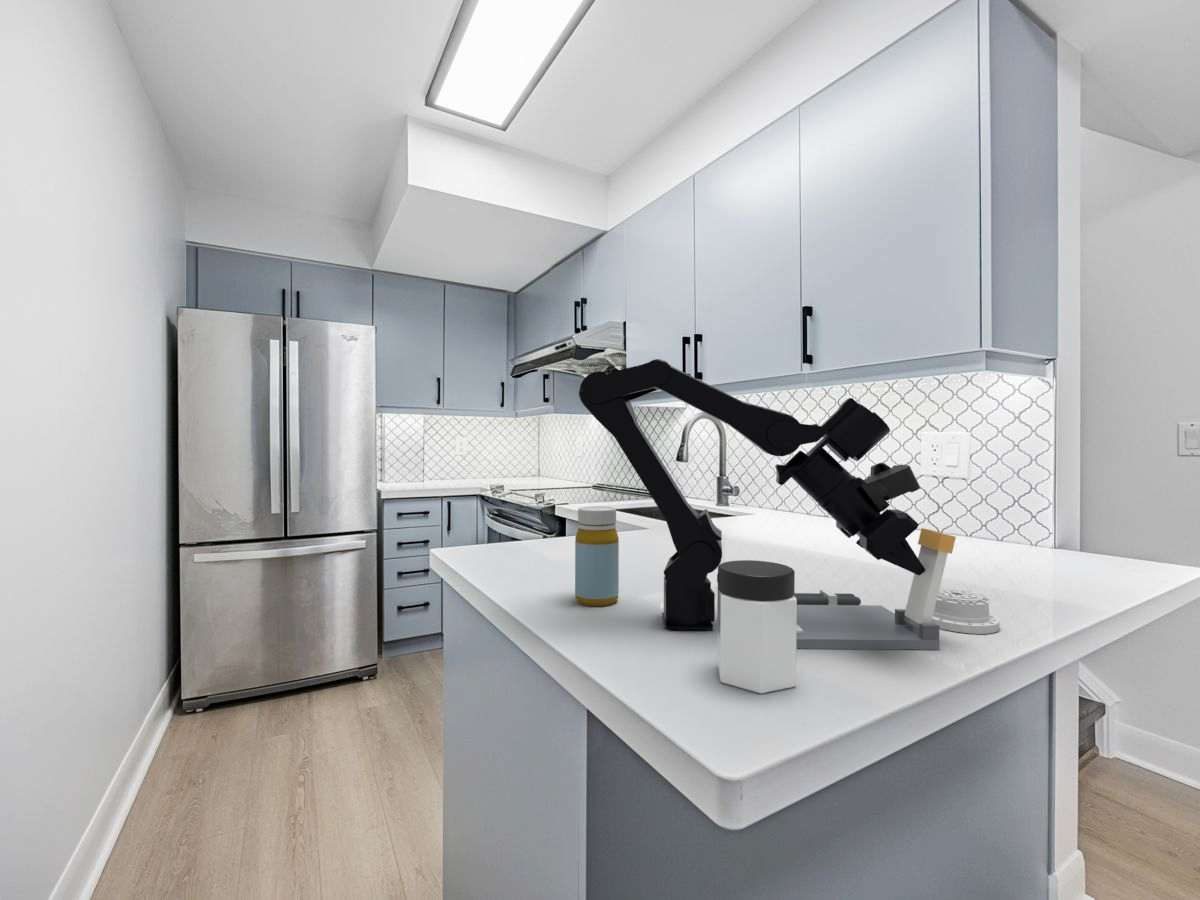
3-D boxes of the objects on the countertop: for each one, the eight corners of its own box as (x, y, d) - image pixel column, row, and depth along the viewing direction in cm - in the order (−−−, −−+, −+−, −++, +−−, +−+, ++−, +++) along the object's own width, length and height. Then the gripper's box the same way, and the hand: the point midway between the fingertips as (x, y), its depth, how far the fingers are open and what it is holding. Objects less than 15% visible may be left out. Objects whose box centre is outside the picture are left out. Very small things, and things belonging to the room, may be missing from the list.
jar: (763, 657, 67) (764, 557, 67) (813, 684, 60) (814, 572, 59) (699, 668, 64) (700, 563, 64) (743, 699, 56) (744, 579, 56)
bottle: (592, 593, 96) (592, 505, 96) (626, 599, 92) (627, 508, 92) (566, 602, 90) (566, 509, 90) (601, 610, 86) (602, 512, 86)
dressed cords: (738, 606, 88) (738, 595, 88) (733, 599, 92) (733, 588, 92) (863, 607, 88) (863, 596, 88) (852, 600, 92) (852, 589, 92)
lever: (917, 632, 71) (941, 533, 71) (899, 621, 76) (921, 528, 75) (931, 636, 71) (955, 536, 71) (912, 624, 76) (934, 531, 75)
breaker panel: (769, 648, 70) (769, 624, 70) (741, 612, 85) (741, 592, 85) (939, 650, 70) (939, 625, 70) (881, 613, 85) (881, 593, 85)
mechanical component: (930, 633, 77) (1013, 639, 75) (931, 601, 77) (1014, 605, 75) (907, 611, 86) (980, 616, 84) (907, 583, 86) (980, 587, 84)
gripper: (899, 444, 65) (1005, 542, 63) (859, 443, 83) (941, 519, 81) (826, 510, 67) (927, 608, 65) (803, 495, 85) (881, 571, 83)
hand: (920, 571), depth 73 cm, fingers closed
